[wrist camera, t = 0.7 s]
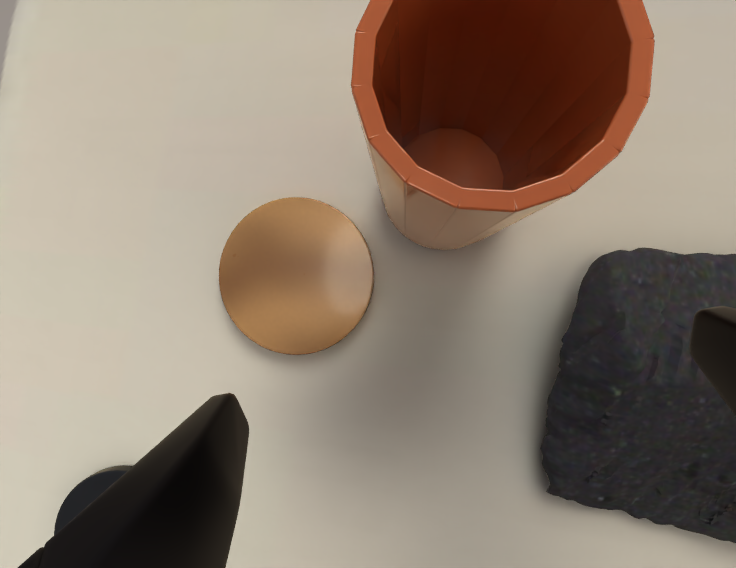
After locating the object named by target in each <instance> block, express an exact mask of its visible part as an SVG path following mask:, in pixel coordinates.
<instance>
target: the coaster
mask: <svg viewBox="0 0 736 568" xmlns="http://www.w3.org/2000/svg"><path fill="white" fill-rule="evenodd" d="M219 284H220V291H221V295H222V299H223V302H224V305H225V307H226V310H227V312H228V314H229V315H230V317H231V319H232V320H233V322H234V323H235V324H236V326H237V327H238V328H239V329H240V330H241V331H242V332H243V334H245V335H246V336H247V337H248V338H249V339H251V340H252V341H254V342H255V343H257V344H258V345H260V346H262V347H264V348H266V349H269V350H271V351H275V352H278V353H283V354H292V355H301V354H310V353H314V352H318V351H321V350H323V349H326V348H329V347H330V346H332V345H334V344H336V343H337V342H339V341H340V340H342V339H343V338H344V337H346V336H347V335H348V334H349V333H350V332H351V331H352V330H353V329H354V328H355V326H356V325H357V324H358V323H359V321H360V320H361V318H362V317H363V315H364V313H365V312H366V309H367V307H368V305H369V302H370V299H371V295H372V290H373V284H374V270H373V262H372V258H371V254H370V251H369V248H368V246H367V243H366V241H365V239H364V238H363V236H362V234H361V233H360V231H359V230H358V229H357V227H356V226H355V225H354V224H353V223H352V222H351V221H350V220H349V219H348V218H347V217H346V216H345V215H344V214H342V213H341V212H340V211H339V210H337V209H335V208H334V207H332V206H330V205H328V204H325V203H323V202H321V201H317V200H313V199H308V198H284V199H279V200H275V201H271V202H269V203H267V204H264V205H262V206H260V207H258V208H257V209H255V210H253V211H252V212H251V213H249V214H248V215H247V216H246V217H245V218H244V219H243V220H242V221H241V222H240V223H239V224H238V225H237V226H236V228H235V229H234V230H233V232H232V233H231V235H230V237H229V238H228V240H227V242H226V245H225V247H224V249H223V253H222V256H221V260H220V267H219Z"/></svg>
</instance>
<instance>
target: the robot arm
mask: <svg viewBox="0 0 736 568" xmlns="http://www.w3.org/2000/svg"><path fill="white" fill-rule="evenodd" d="M689 348H690V353H691V356H692V358H693V359H694V361H695V362H696V364H697V365H698V366H699V368H700V369H701V370H702V372H703V373H704V375H705V376H706V377H707V379H708V380H709V381H710V383H711V384H712V385H713V387H714V388H715V389H716V391H717V392H718V393H719V395H720V396H721V397H722V399H723V400H724V402H725V403H726V404H727V406H728V407H729V408H730V410H731V411H732V412H733V414H734V415H735V416H736V309H734V308H730V307H726V306H718V307H712V308H707V309H701V310H699V311H697V313H696V314H695V316H694V320H693V326H692V332H691V338H690V344H689ZM248 437H249V425H248V422H247V419H246V417H245V415H244V413H243V411H242V408H241V406H240V404H239V402H238V400H237V398H236V396H235V395H234V394H231V393H227V394H221V395H216V396H213V397H211V398H210V399H209V400H208V401H206V402H205V403H204V404H203V405H202V406H201V407H200V408H199V409H197V410H196V411H195V412H194V413H193V414H192V415H191V416H189V417H188V418H187V419H186V420H185V421H184V422H183V423H181V424H180V425H179V426H178V427H177V428H176V429H175V430H174V431H172V432H171V433H170V434H169V435H168V436H167V437H166V438H164V439H163V440H162V441H161V442H160V443H159V444H158V445H157V446H155V447H154V448H153V449H152V450H151V451H150V452H149V453H147V454H146V455H145V456H144V457H143V458H142V459H141V460H139V461H138V462H137V463H136V464H135V465H134V466H133V467H132V468H130V469H129V470H128V471H127V472H126V473H125V474H124V475H122V476H121V477H120V478H119V479H118V480H117V481H116V482H114V483H113V484H112V485H111V486H110V487H109V488H108V489H107V490H105V491H104V492H103V493H102V494H101V495H100V496H99V497H97V498H96V499H95V500H94V501H93V502H92V503H91V504H90V505H88V506H87V507H86V508H85V509H84V510H83V511H82V512H80V513H79V514H78V515H77V516H76V517H75V518H74V519H72V520H71V521H70V522H69V523H68V524H67V525H66V526H65V527H63V528H62V529H61V530H60V531H59V532H58V533H57V534H55V535H54V536H53V537H52V538H51V539H50V540H49V541H48V542H46V544H45V547H42V548H39V549H38V550H37V551H36V552H35V553H34V554H33V555H31V556H30V557H29V558H28V559H27V560H26V561H25V562H24V563H22V564H21V565H20V566H19V567H18V568H225V567H226V562H227V558H228V554H229V550H230V545H231V541H232V537H233V533H234V528H235V524H236V520H237V515H238V510H239V505H240V499H241V492H242V485H243V477H244V469H245V461H246V453H247V445H248Z"/></svg>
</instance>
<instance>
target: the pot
mask: <svg viewBox="0 0 736 568" xmlns="http://www.w3.org/2000/svg"><path fill="white" fill-rule="evenodd" d="M654 42H655V41H654V34H653V31H652V28H651V25H650V22H649V19H648V16H647V13H646V10H645V7H644V4H643V2H642V0H370V2H369V4H368V6H367V8H366V10H365V12H364V14H363V17H362V19H361V21H360V23H359V25H358V27H357V29H356V33H355V41H354V54H353V67H352V80H351V88H352V94H353V97H354V101H355V104H356V108H357V112H358V115H359V119H360V122H361V126H362V129H363V133H364V136H365V140H366V143H367V147H368V150H369V154H370V157H371V161H372V165H373V168H374V172H375V175H376V179H377V182H378V186H379V189H380V193H381V196H382V199H383V202H384V205H385V208H386V211H387V214H388V216H389V218H390V220H391V221H392V223H393V224H394V225H395V227H396V228H397V229H398V230H399V231H400V232H401V233H402V234H403V235H404V236H406V237H407V238H408V239H409V240H411V241H413V242H415V243H416V244H419V245H421V246H424V247H427V248H431V249H438V250H450V249H457V248H461V247H465V246H467V245H470V244H473V243H476V242H478V241H480V240H482V239H484V238H486V237H488V236H490V235H492V234H494V233H496V232H498V231H500V230H502V229H504V228H506V227H508V226H510V225H512V224H513V223H515V222H517V221H519V220H521V219H523V218H525V217H527V216H529V215H531V214H533V213H535V212H537V211H539V210H541V209H543V208H545V207H547V206H549V205H550V204H552V203H554V202H556V201H558V200H560V199H562V198H564V197H566V196H568V195H570V194H572V193H573V192H575V191H576V190H578V189H579V188H580V187H581V186H582V185H584V184H585V183H586V182H587V181H588V180H590V179H591V178H592V177H593V176H594V175H596V174H597V173H598V172H599V171H600V170H602V169H603V168H604V167H605V166H606V165H607V164H609V163H610V162H611V161H612V160H613V159H615V158H616V157H617V156H618V155H619V153H620V152H621V151H622V149H623V148H624V146H625V144H626V142H627V140H628V138H629V136H630V134H631V133H632V131H633V129H634V127H635V125H636V123H637V121H638V119H639V118H640V116H641V114H642V112H643V110H644V108H645V106H646V104H647V103H648V98H649V96H650V86H651V75H652V64H653V53H654Z"/></svg>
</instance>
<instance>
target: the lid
mask: <svg viewBox="0 0 736 568" xmlns="http://www.w3.org/2000/svg"><path fill="white" fill-rule="evenodd" d="M132 467H133V466H115V467H110V468H106V469H103V470H101V471H98V472H97V473H95V474H93V475H91V476H90V477H88V478H86V479H85V480H83V481H82V482H81V483H79V484H78V485H77V486H76V487H75V488H74V489H73V490H72V491H71V492H70V493H69V495H68V496H67V497H66V499H65V500H64V502H63V504H62V506H61V508H60V510H59V513H58V515H57V519H56V523H55V530H54V535H55V534H57V533H58V532H59V531H60V530H61V529H62V528H63V527H65V526H66V525H67V524H68V523H69V522H70V521H71V520H72V519H74V518H75V517H76V516H77V515H78V514H79V513H80V512H82V511H83V510H84V509H85V508H86V507H87V506H88V505H90V504H91V503H92V502H93V501H94V500H95V499H96V498H97V497H99V496H100V495H101V494H102V493H103V492H104V491H105V490H107V489H108V488H109V487H110V486H111V485H112V484H113V483H114V482H116V481H117V480H118V479H119V478H120V477H121V476H122V475H124V474H125V473H126V472H127V471H128V470H129V469H130V468H132Z"/></svg>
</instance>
